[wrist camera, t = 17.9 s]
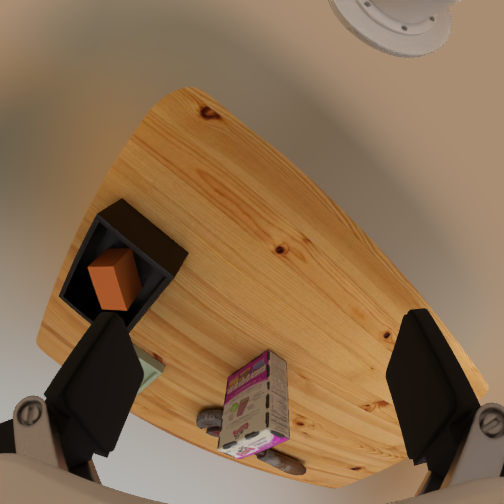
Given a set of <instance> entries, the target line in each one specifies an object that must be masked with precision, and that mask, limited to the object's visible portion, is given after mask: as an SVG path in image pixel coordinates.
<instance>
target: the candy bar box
mask: <svg viewBox="0 0 504 504" xmlns="http://www.w3.org/2000/svg"><path fill="white" fill-rule="evenodd" d="M289 439H290V432H289V405H288V383H287V363H286V362H285V361H284V360H283V359H282V358H280V357H278V356H277V355H275V354H274V353H273V352H271V351H270V350H267V351H265V352H264V353H263V354H261V355H260V356H258V357H257V358H256V359H254V360H253V361H251V362H250V363H249V364H247V365H246V366H244V367H243V368H241V369H240V370H238V371H237V372H235V373H234V374H232V375H231V376H229V377H228V381H227V387H226V394H225V401H224V407H223V414H222V420H221V428H220V434H219V441H218V448H217V450H218V451H220V452H222V453H225V454H227V455H229V456H233V457H234V458H237V459H242V458H244V457H247V456H250V455H252V454H255V453H258V452H260V451H263V450H265V449H268V448H270V447H273V446H275V445H278V444H280V443H282V442H285V441H287V440H289Z"/></svg>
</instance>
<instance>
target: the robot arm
mask: <svg viewBox="0 0 504 504" xmlns="http://www.w3.org/2000/svg"><path fill="white" fill-rule="evenodd" d="M460 1H462V0H356V2H357V3H358V5H359V7H360V8H361V9H362V10H363V11H364V12H365V14H367V15H368V16H369V17H370V18H371V19H372V20H373V21H375V22H376V23H378V24H379V25H380V26H382V27H384V28H386V29H388V30H390V31H392V32H395V33H398V34H402V35H410V36H414V35H420V34H423V33H425V32H427V31H429V30H430V29H431V28H432V27H433V26H434V25H435V23H436V22H437V18H438V12H440V11H442V10H444V9H446V8H448V7H450V6H452V5H454V4H456V3H458V2H460ZM365 5H366V6H367V7H366V6H365ZM143 378H144V370H143V368H142V365H141V363H140V361H139V358H138V356H137V353H136V351H135V349H134V346H133V344H132V341H131V339H130V336H129V334H128V331H127V328H126V326H125V323H124V320H123V319H122V318H121V317H119V315H118V314H117V313H113V312H101V313H100V314H99V315H98V316H97V318H96V319H95V320H94V322H93V323H92V324H91V326H90V327H89V329H88V330H87V331H86V333H85V334H84V335H83V337H82V338H81V340H80V341H79V342H78V344H77V345H76V347H75V348H74V349H73V351H72V352H71V354H70V355H69V357H68V358H67V360H66V361H65V362H64V364H63V365H62V367H61V368H60V370H59V371H58V373H57V374H56V376H55V378H54V379H53V380H52V382H51V384H50V385H49V387H48V388H47V390H46V391H45V393H44V395H45V396H46V400H45V402H44V400H43V399H42V398H40V397H38V396H28V397H26V398H24V399H22V400H21V401H20V402H19V403H18V405H17V406H16V407H15V410H14V412H13V419H11V420H8V421H6V422H3V423H0V504H166V503H162V502H157V501H153V500H149V499H145V498H141V497H138V496H134V495H131V494H127V493H124V492H121V491H118V490H115V489H112V488H109V487H106V486H103V485H102V484H101V481H100V479H99V476H98V474H97V471H96V469H95V466H94V463H93V461H92V455H93V453H95V454H98V455H101V456H104V457H108V455H109V452H110V451H113V450H114V448H115V446H116V443H117V441H118V438H119V436H120V433H121V431H122V428H123V426H124V423H125V421H126V419H127V416H128V414H129V411H130V409H131V407H132V404H133V402H134V400H135V397H136V395H137V393H138V390H139V388H140V386H141V383H142V381H143ZM386 380H387V383H388V386H389V390H390V393H391V396H392V400H393V403H394V406H395V410H396V413H397V417H398V420H399V424H400V428H401V431H402V435H403V439H404V443H405V447H406V451H407V455H408V457H409V459H413V462H414V466H415V465H419V464H422V463H426V462H427V466H428V470H429V471H428V473H427V475H426V476H425V478H424V480H423V482H422V484H421V485H420V487H419V489H418V491H417V493H416V494H415V496H414V497H412V498H408V499H404V500H401V501H396V502H391V503H387V504H504V407H503V406H501V405H499V404H496V403H487V404H485V405H483V406H480V404H479V402H478V399H477V397H476V395H475V393H474V391H473V389H472V387H471V385H470V383H469V381H468V379H467V377H466V375H465V373H464V372H463V370H462V368H461V366H460V364H459V362H458V360H457V359H456V357H455V355H454V353H453V351H452V350H451V348H450V346H449V344H448V343H447V341H446V339H445V338H444V336H443V334H442V332H441V331H440V329H439V327H438V326H437V324H436V323H435V321H434V319H433V318H432V316H431V314H430V313H429V311H428V310H427V309H425V308H422V309H413V310H409V312H408V314H407V315H404V316H403V319H402V323H401V326H400V330H399V333H398V336H397V340H396V343H395V346H394V349H393V352H392V355H391V358H390V361H389V364H388V367H387V370H386Z"/></svg>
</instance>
